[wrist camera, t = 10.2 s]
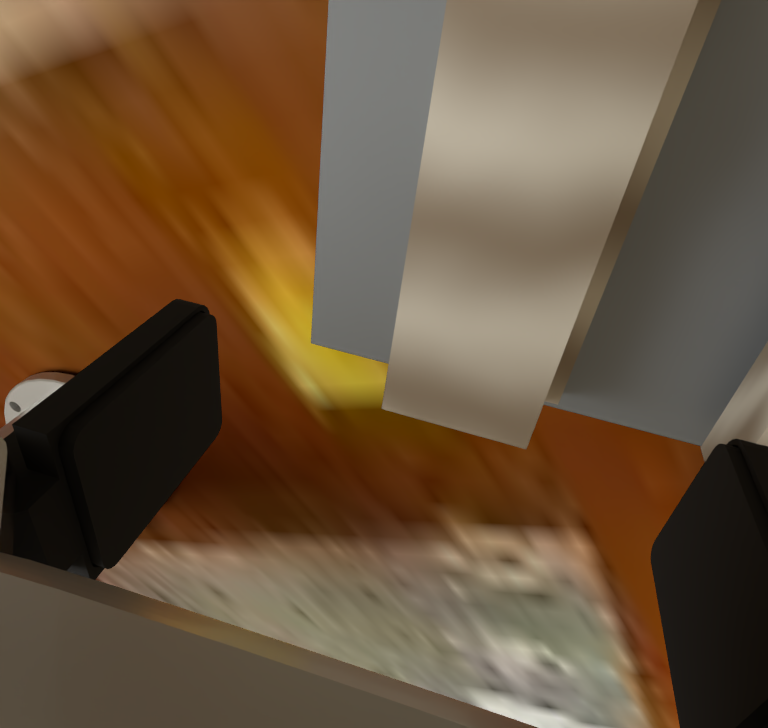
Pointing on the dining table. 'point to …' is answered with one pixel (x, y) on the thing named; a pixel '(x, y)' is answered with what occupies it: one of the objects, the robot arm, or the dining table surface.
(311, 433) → the dining table surface
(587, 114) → the ash plank
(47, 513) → the robot arm
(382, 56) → the floor panel
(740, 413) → the fixed plank
